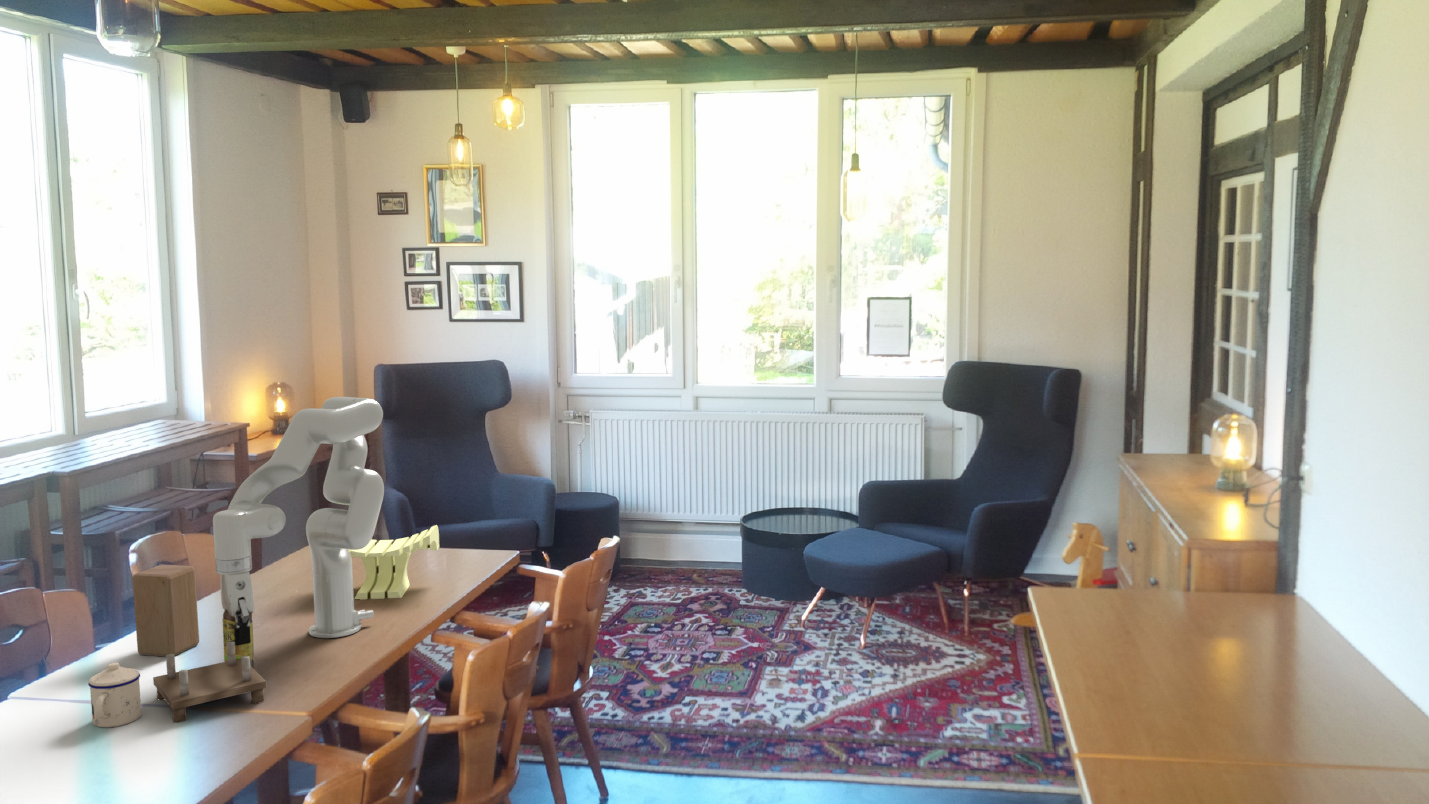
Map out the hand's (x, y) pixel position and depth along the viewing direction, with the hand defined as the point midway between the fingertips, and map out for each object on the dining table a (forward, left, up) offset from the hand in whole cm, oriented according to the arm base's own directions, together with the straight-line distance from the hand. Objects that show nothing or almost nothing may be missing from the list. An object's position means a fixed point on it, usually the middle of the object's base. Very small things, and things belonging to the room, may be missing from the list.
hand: (238, 639), depth 238 cm
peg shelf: (+10, +16, -7) cm, 20 cm away
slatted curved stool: (-49, -39, -7) cm, 63 cm away
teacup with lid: (+28, +16, -7) cm, 33 cm away
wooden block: (+10, -24, -7) cm, 27 cm away
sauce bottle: (0, 0, -7) cm, 7 cm away
